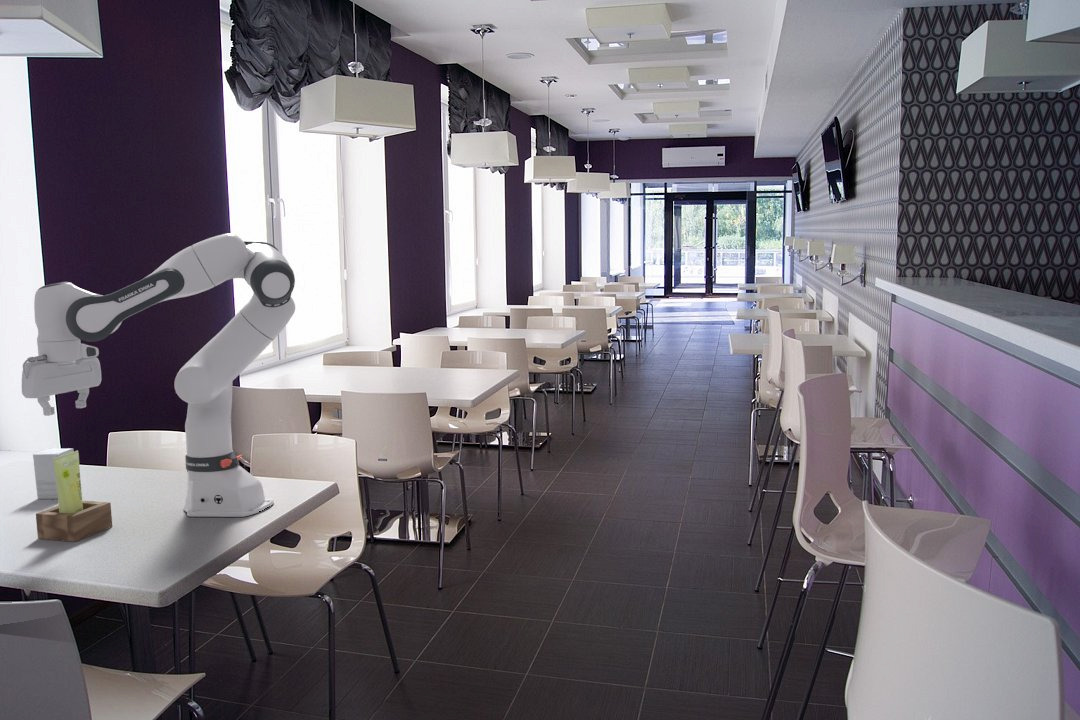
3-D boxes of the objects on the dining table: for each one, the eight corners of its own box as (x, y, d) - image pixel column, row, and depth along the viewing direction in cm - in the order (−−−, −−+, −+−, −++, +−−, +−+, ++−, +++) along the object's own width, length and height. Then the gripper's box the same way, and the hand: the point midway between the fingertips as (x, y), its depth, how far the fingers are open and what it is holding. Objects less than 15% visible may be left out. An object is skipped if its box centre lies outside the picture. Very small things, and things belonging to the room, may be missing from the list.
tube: (85, 536, 203) (78, 454, 201) (60, 539, 201) (53, 457, 199) (84, 529, 208) (78, 450, 206) (60, 533, 206) (53, 452, 204)
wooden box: (112, 526, 210) (110, 502, 210) (75, 541, 199) (72, 516, 199) (76, 523, 213) (74, 499, 213) (37, 538, 202) (35, 513, 201)
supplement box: (78, 492, 243) (74, 447, 241) (61, 499, 235) (57, 453, 234) (53, 491, 244) (49, 447, 242) (36, 499, 236) (31, 453, 235)
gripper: (34, 358, 190) (40, 420, 192) (103, 347, 210) (108, 404, 211) (11, 357, 192) (17, 419, 194) (82, 347, 211) (87, 403, 213)
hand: (65, 411), depth 203 cm, fingers open, 8 cm apart
